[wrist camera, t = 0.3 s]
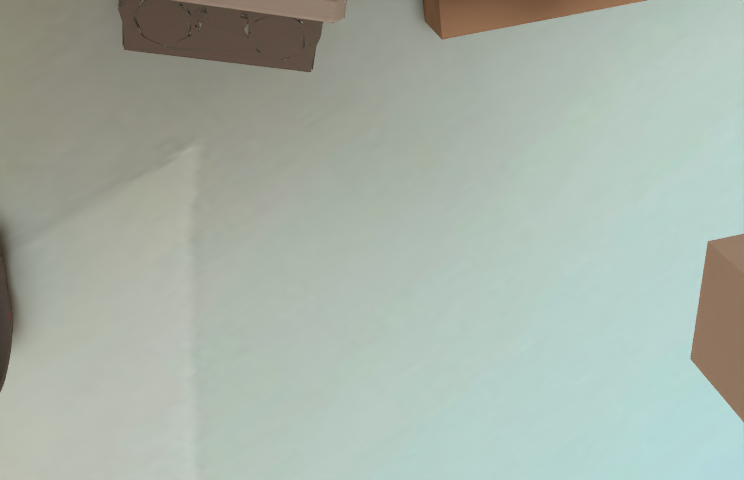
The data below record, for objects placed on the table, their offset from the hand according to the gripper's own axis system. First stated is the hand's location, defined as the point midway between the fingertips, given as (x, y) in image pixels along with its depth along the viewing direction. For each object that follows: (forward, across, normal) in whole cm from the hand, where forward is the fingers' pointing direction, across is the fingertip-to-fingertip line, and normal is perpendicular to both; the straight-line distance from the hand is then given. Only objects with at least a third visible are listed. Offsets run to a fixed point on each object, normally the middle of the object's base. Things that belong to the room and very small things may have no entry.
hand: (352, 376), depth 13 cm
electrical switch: (+28, -1, +3) cm, 28 cm away
